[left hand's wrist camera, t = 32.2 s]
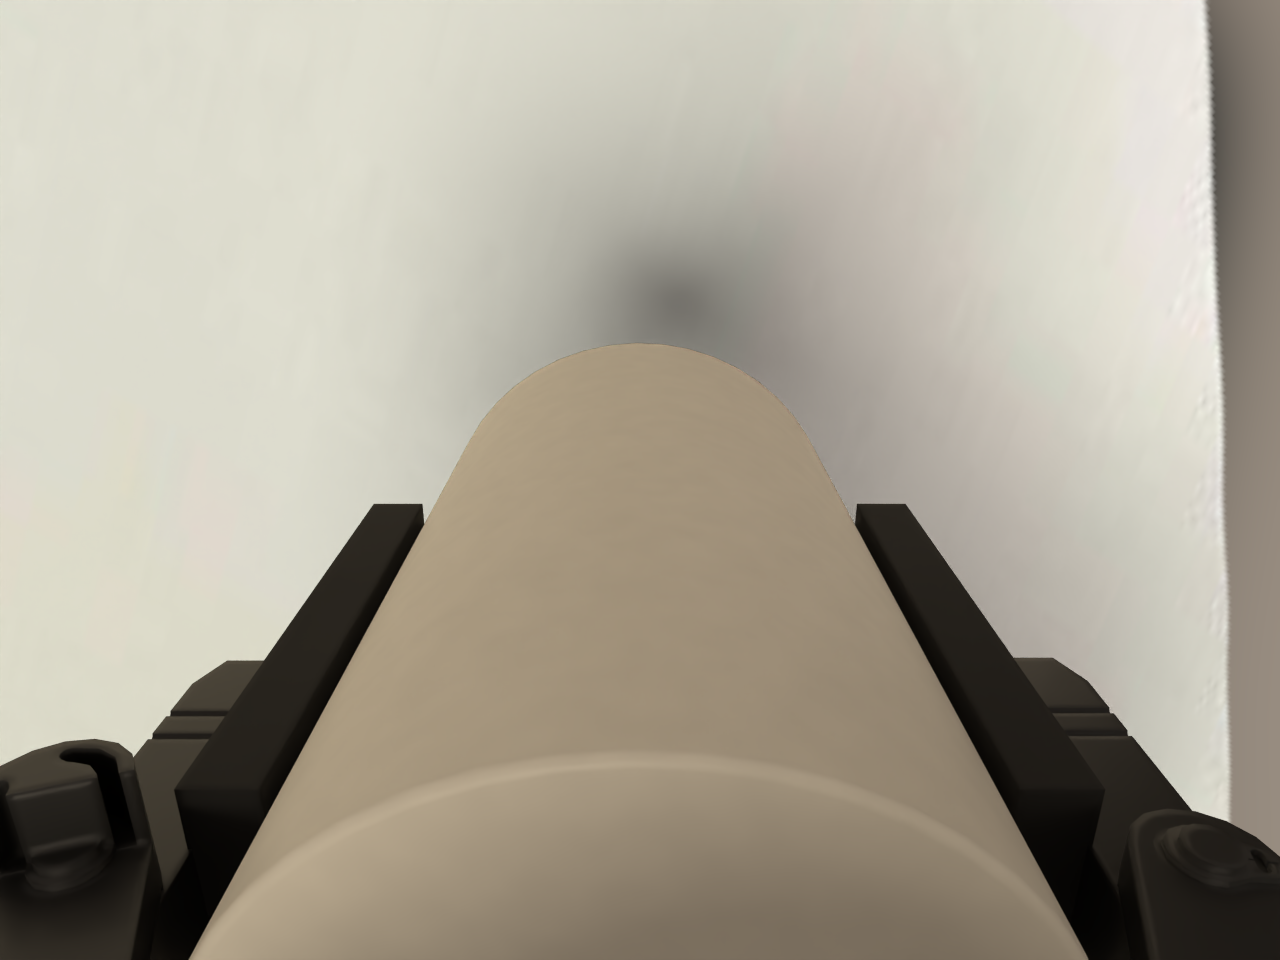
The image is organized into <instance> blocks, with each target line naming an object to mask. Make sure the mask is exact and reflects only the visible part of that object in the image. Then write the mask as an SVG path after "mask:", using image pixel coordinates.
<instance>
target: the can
mask: <svg viewBox="0 0 1280 960" xmlns="http://www.w3.org/2000/svg"><path fill="white" fill-rule="evenodd" d="M189 960H1088V957H1087V955H1086V953H1085V952H1084V950H1083V948H1082V946H1081V944H1080V942H1079V940H1078V939H1077V937H1076V935H1075V933H1074V931H1073V929H1072V927H1071V926H1070V924H1069V922H1068V920H1067V918H1066V916H1065V914H1064V913H1063V911H1062V909H1061V907H1060V905H1059V903H1058V901H1057V900H1056V898H1055V896H1054V894H1053V892H1052V890H1051V888H1050V887H1049V885H1048V883H1047V881H1046V879H1045V877H1044V875H1043V874H1042V872H1041V870H1040V868H1039V866H1038V864H1037V862H1036V861H1035V859H1034V857H1033V855H1032V853H1031V851H1030V849H1029V848H1028V846H1027V844H1026V842H1025V840H1024V838H1023V836H1022V835H1021V833H1020V831H1019V829H1018V827H1017V825H1016V823H1015V821H1014V820H1013V818H1012V816H1011V814H1010V812H1009V810H1008V808H1007V807H1006V805H1005V803H1004V801H1003V799H1002V797H1001V795H1000V794H999V792H998V790H997V788H996V786H995V784H994V782H993V781H992V779H991V777H990V775H989V773H988V771H987V769H986V768H985V766H984V764H983V762H982V760H981V758H980V756H979V755H978V753H977V751H976V749H975V747H974V745H973V743H972V742H971V740H970V738H969V736H968V734H967V732H966V730H965V729H964V727H963V725H962V723H961V721H960V719H959V717H958V716H957V714H956V712H955V710H954V708H953V706H952V704H951V703H950V701H949V699H948V697H947V695H946V693H945V691H944V690H943V688H942V686H941V684H940V682H939V680H938V678H937V677H936V675H935V673H934V671H933V669H932V667H931V665H930V664H929V662H928V660H927V658H926V656H925V654H924V652H923V651H922V649H921V647H920V645H919V643H918V641H917V639H916V638H915V636H914V634H913V632H912V630H911V628H910V626H909V625H908V623H907V621H906V619H905V617H904V615H903V613H902V612H901V610H900V608H899V606H898V604H897V602H896V600H895V599H894V597H893V595H892V593H891V591H890V589H889V587H888V586H887V584H886V582H885V580H884V578H883V576H882V574H881V573H880V571H879V569H878V567H877V565H876V563H875V561H874V560H873V558H872V556H871V554H870V552H869V550H868V548H867V546H866V545H865V543H864V541H863V539H862V537H861V535H860V533H859V532H858V530H857V528H856V526H855V524H854V522H853V520H852V519H851V517H850V515H849V513H848V511H847V509H846V507H845V506H844V504H843V502H842V500H841V498H840V496H839V494H838V493H837V491H836V489H835V487H834V485H833V483H832V481H831V480H830V478H829V476H828V474H827V472H826V470H825V468H824V467H823V465H822V463H821V461H820V459H819V457H818V455H817V454H816V452H815V450H814V448H813V446H812V444H811V442H810V441H809V439H808V437H807V435H806V434H805V432H804V431H803V429H802V428H801V426H800V425H799V423H798V422H797V420H796V419H795V417H794V416H793V415H792V414H791V412H790V411H789V410H788V409H787V408H786V407H785V406H784V405H783V403H782V402H781V401H780V400H779V399H778V398H777V397H776V396H775V395H774V394H772V393H771V392H770V391H769V390H768V389H767V388H765V387H764V386H763V385H762V384H761V383H760V382H758V381H757V380H755V379H754V378H752V377H751V376H749V375H747V374H746V373H744V372H743V371H741V370H740V369H738V368H736V367H734V366H732V365H730V364H728V363H726V362H723V361H721V360H719V359H717V358H715V357H712V356H709V355H706V354H703V353H700V352H697V351H693V350H690V349H686V348H680V347H675V346H669V345H664V344H645V343H631V344H619V345H608V346H604V347H599V348H594V349H590V350H585V351H582V352H579V353H576V354H573V355H570V356H568V357H565V358H562V359H559V360H557V361H555V362H553V363H551V364H549V365H547V366H545V367H544V368H542V369H540V370H538V371H536V372H534V373H533V374H531V375H530V376H529V377H527V378H526V379H524V380H523V381H521V382H520V383H519V384H517V385H516V386H514V387H513V388H512V389H511V390H510V391H509V392H508V393H507V394H506V395H505V396H504V397H503V398H501V399H500V400H499V401H498V402H497V403H496V404H495V406H494V407H493V408H492V409H491V410H490V412H489V413H488V414H487V415H486V417H485V418H484V419H483V420H482V421H481V423H480V425H479V426H478V428H477V430H476V431H475V433H474V434H473V436H472V438H471V439H470V441H469V443H468V445H467V446H466V448H465V450H464V452H463V454H462V456H461V458H460V459H459V461H458V463H457V465H456V467H455V469H454V470H453V472H452V474H451V476H450V478H449V480H448V482H447V483H446V485H445V487H444V489H443V491H442V493H441V494H440V496H439V498H438V500H437V502H436V504H435V506H434V507H433V509H432V511H431V513H430V515H429V517H428V519H427V520H426V522H425V524H424V526H423V528H422V530H421V531H420V533H419V535H418V537H417V539H416V541H415V543H414V544H413V546H412V548H411V550H410V552H409V554H408V555H407V557H406V559H405V561H404V563H403V565H402V567H401V568H400V570H399V572H398V574H397V576H396V578H395V579H394V581H393V583H392V585H391V587H390V589H389V591H388V592H387V594H386V596H385V598H384V600H383V602H382V603H381V605H380V607H379V609H378V611H377V613H376V615H375V616H374V618H373V620H372V622H371V624H370V626H369V628H368V629H367V631H366V633H365V635H364V637H363V639H362V640H361V642H360V644H359V646H358V648H357V650H356V652H355V653H354V655H353V657H352V659H351V661H350V663H349V664H348V666H347V668H346V670H345V672H344V674H343V676H342V677H341V679H340V681H339V683H338V685H337V687H336V688H335V690H334V692H333V694H332V696H331V698H330V700H329V701H328V703H327V705H326V707H325V709H324V711H323V712H322V714H321V716H320V718H319V720H318V722H317V724H316V725H315V727H314V729H313V731H312V733H311V735H310V737H309V738H308V740H307V742H306V744H305V746H304V748H303V749H302V751H301V753H300V755H299V757H298V759H297V761H296V762H295V764H294V766H293V768H292V770H291V772H290V773H289V775H288V777H287V779H286V781H285V783H284V785H283V786H282V788H281V790H280V792H279V794H278V796H277V797H276V799H275V801H274V803H273V805H272V807H271V809H270V810H269V812H268V814H267V816H266V818H265V820H264V822H263V823H262V825H261V827H260V829H259V831H258V833H257V834H256V836H255V838H254V840H253V842H252V844H251V846H250V847H249V849H248V851H247V853H246V855H245V857H244V858H243V860H242V862H241V864H240V866H239V868H238V870H237V871H236V873H235V875H234V877H233V879H232V881H231V882H230V884H229V886H228V888H227V890H226V892H225V894H224V895H223V897H222V899H221V901H220V903H219V905H218V906H217V908H216V910H215V912H214V914H213V916H212V918H211V919H210V921H209V923H208V925H207V927H206V929H205V931H204V932H203V934H202V936H201V938H200V940H199V942H198V943H197V945H196V947H195V949H194V951H193V953H192V955H191V956H190V958H189Z"/></svg>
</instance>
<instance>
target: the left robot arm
mask: <svg viewBox="0 0 1280 960" xmlns="http://www.w3.org/2000/svg"><path fill="white" fill-rule="evenodd" d="M423 526H424V516H423V506H422V504H374V505H373V506H372V507H371V509H370V510H369V512H368V513H367V515H366V516H365V517H364V519H363V520H362V522H361V523H360V525H359V526H358V527H357V529H356V530H355V532H354V533H353V534H352V536H351V537H350V539H349V540H348V542H347V543H346V544H345V546H344V547H343V549H342V550H341V552H340V553H339V554H338V556H337V557H336V559H335V560H334V562H333V563H332V564H331V566H330V567H329V569H328V570H327V572H326V573H325V574H324V576H323V577H322V579H321V580H320V582H319V583H318V584H317V586H316V587H315V589H314V590H313V592H312V593H311V594H310V596H309V597H308V599H307V600H306V602H305V603H304V604H303V606H302V607H301V609H300V610H299V612H298V613H297V614H296V616H295V617H294V619H293V620H292V622H291V623H290V624H289V626H288V627H287V629H286V630H285V632H284V633H283V634H282V636H281V637H280V639H279V640H278V642H277V643H276V644H275V646H274V647H273V649H272V650H271V651H270V653H269V654H268V656H267V657H266V659H265V660H264V661H226V662H225V663H223V664H222V665H220V666H219V667H217V668H216V669H214V670H213V671H211V672H210V673H208V674H207V675H205V676H204V677H202V678H201V679H199V680H198V681H196V682H195V683H193V684H192V685H191V686H190V687H189V689H188V690H187V691H186V692H185V694H184V695H183V696H182V697H181V699H180V700H179V701H178V702H177V704H176V705H175V706H174V707H173V709H172V710H171V715H170V716H166V717H165V719H164V720H163V721H162V722H161V724H160V725H159V726H158V727H157V729H156V730H155V731H154V732H153V737H152V739H148V740H147V741H146V742H145V744H144V745H143V746H142V747H141V749H140V750H139V751H138V752H137V754H136V755H135V756H134V757H133V756H132V753H130V752H129V751H128V750H127V749H125V748H124V747H123V746H121V745H120V744H119V743H115V742H109V741H104V740H98V739H89V740H77V741H66V742H62V743H59V744H55V745H51V746H48V747H44V748H41V749H37V750H34V751H31V752H29V753H27V754H25V755H23V756H21V757H18V758H16V759H14V760H12V761H10V762H8V763H6V764H4V765H2V766H0V960H189V958H190V956H191V955H192V953H193V951H194V949H195V947H196V945H197V943H198V942H199V940H200V938H201V936H202V934H203V932H204V931H205V929H206V927H207V925H208V923H209V921H210V919H211V918H212V916H213V914H214V912H215V910H216V908H217V906H218V905H219V903H220V901H221V899H222V897H223V895H224V894H225V892H226V890H227V888H228V886H229V884H230V882H231V881H232V879H233V877H234V875H235V873H236V871H237V870H238V868H239V866H240V864H241V862H242V860H243V858H244V857H245V855H246V853H247V851H248V849H249V847H250V846H251V844H252V842H253V840H254V838H255V836H256V834H257V833H258V831H259V829H260V827H261V825H262V823H263V822H264V820H265V818H266V816H267V814H268V812H269V810H270V809H271V807H272V805H273V803H274V801H275V799H276V797H277V796H278V794H279V792H280V790H281V788H282V786H283V785H284V783H285V781H286V779H287V777H288V775H289V773H290V772H291V770H292V768H293V766H294V764H295V762H296V761H297V759H298V757H299V755H300V753H301V751H302V749H303V748H304V746H305V744H306V742H307V740H308V738H309V737H310V735H311V733H312V731H313V729H314V727H315V725H316V724H317V722H318V720H319V718H320V716H321V714H322V712H323V711H324V709H325V707H326V705H327V703H328V701H329V700H330V698H331V696H332V694H333V692H334V690H335V688H336V687H337V685H338V683H339V681H340V679H341V677H342V676H343V674H344V672H345V670H346V668H347V666H348V664H349V663H350V661H351V659H352V657H353V655H354V653H355V652H356V650H357V648H358V646H359V644H360V642H361V640H362V639H363V637H364V635H365V633H366V631H367V629H368V628H369V626H370V624H371V622H372V620H373V618H374V616H375V615H376V613H377V611H378V609H379V607H380V605H381V603H382V602H383V600H384V598H385V596H386V594H387V592H388V591H389V589H390V587H391V585H392V583H393V581H394V579H395V578H396V576H397V574H398V572H399V570H400V568H401V567H402V565H403V563H404V561H405V559H406V557H407V555H408V554H409V552H410V550H411V548H412V546H413V544H414V543H415V541H416V539H417V537H418V535H419V533H420V531H421V530H422V528H423ZM855 526H856V528H857V530H858V532H859V533H860V535H861V537H862V539H863V541H864V543H865V545H866V546H867V548H868V550H869V552H870V554H871V556H872V558H873V560H874V561H875V563H876V565H877V567H878V569H879V571H880V573H881V574H882V576H883V578H884V580H885V582H886V584H887V586H888V587H889V589H890V591H891V593H892V595H893V597H894V599H895V600H896V602H897V604H898V606H899V608H900V610H901V612H902V613H903V615H904V617H905V619H906V621H907V623H908V625H909V626H910V628H911V630H912V632H913V634H914V636H915V638H916V639H917V641H918V643H919V645H920V647H921V649H922V651H923V652H924V654H925V656H926V658H927V660H928V662H929V664H930V665H931V667H932V669H933V671H934V673H935V675H936V677H937V678H938V680H939V682H940V684H941V686H942V688H943V690H944V691H945V693H946V695H947V697H948V699H949V701H950V703H951V704H952V706H953V708H954V710H955V712H956V714H957V716H958V717H959V719H960V721H961V723H962V725H963V727H964V729H965V730H966V732H967V734H968V736H969V738H970V740H971V742H972V743H973V745H974V747H975V749H976V751H977V753H978V755H979V756H980V758H981V760H982V762H983V764H984V766H985V768H986V769H987V771H988V773H989V775H990V777H991V779H992V781H993V782H994V784H995V786H996V788H997V790H998V792H999V794H1000V795H1001V797H1002V799H1003V801H1004V803H1005V805H1006V807H1007V808H1008V810H1009V812H1010V814H1011V816H1012V818H1013V820H1014V821H1015V823H1016V825H1017V827H1018V829H1019V831H1020V833H1021V835H1022V836H1023V838H1024V840H1025V842H1026V844H1027V846H1028V848H1029V849H1030V851H1031V853H1032V855H1033V857H1034V859H1035V861H1036V862H1037V864H1038V866H1039V868H1040V870H1041V872H1042V874H1043V875H1044V877H1045V879H1046V881H1047V883H1048V885H1049V887H1050V888H1051V890H1052V892H1053V894H1054V896H1055V898H1056V900H1057V901H1058V903H1059V905H1060V907H1061V909H1062V911H1063V913H1064V914H1065V916H1066V918H1067V920H1068V922H1069V924H1070V926H1071V927H1072V929H1073V931H1074V933H1075V935H1076V937H1077V939H1078V940H1079V942H1080V944H1081V946H1082V948H1083V950H1084V952H1085V953H1086V955H1087V957H1088V960H1280V856H1278V855H1277V854H1276V853H1275V852H1273V851H1272V850H1271V849H1270V848H1269V847H1267V846H1266V845H1265V844H1264V843H1263V842H1261V841H1260V840H1259V839H1258V838H1257V837H1255V836H1253V835H1251V834H1249V833H1248V832H1246V831H1244V830H1242V829H1240V828H1238V827H1236V826H1234V825H1233V824H1231V823H1229V822H1227V821H1224V820H1221V819H1218V818H1215V817H1211V816H1208V815H1205V814H1202V813H1199V812H1196V811H1192V810H1191V809H1190V808H1189V806H1188V805H1187V804H1186V803H1185V801H1184V800H1183V799H1182V798H1181V796H1180V795H1179V794H1178V793H1177V791H1176V790H1175V789H1174V788H1173V786H1172V785H1171V784H1170V783H1169V781H1168V780H1167V779H1166V778H1165V776H1164V775H1163V774H1162V773H1161V772H1160V770H1159V769H1158V768H1157V767H1156V765H1155V764H1154V763H1153V762H1152V760H1151V759H1150V758H1149V757H1148V755H1147V754H1146V753H1145V752H1144V750H1143V749H1142V748H1141V747H1140V745H1139V744H1138V743H1137V742H1136V740H1135V739H1134V738H1133V737H1132V736H1128V734H1127V729H1126V728H1125V727H1124V726H1123V724H1122V723H1121V722H1120V721H1119V719H1118V718H1117V717H1116V716H1115V714H1114V713H1110V712H1109V707H1108V706H1107V704H1106V703H1105V702H1104V701H1103V699H1102V698H1101V697H1100V696H1099V695H1098V693H1097V692H1096V691H1095V690H1094V688H1093V687H1092V686H1091V685H1090V683H1089V682H1088V681H1087V680H1085V679H1084V678H1082V677H1081V676H1079V675H1078V674H1076V673H1075V672H1073V671H1072V670H1070V669H1069V668H1067V667H1066V666H1064V665H1063V664H1061V663H1060V662H1058V661H1057V660H1055V659H1054V658H1013V657H1012V655H1011V654H1010V652H1009V651H1008V650H1007V648H1006V647H1005V645H1004V644H1003V642H1002V641H1001V640H1000V638H999V637H998V635H997V634H996V632H995V631H994V630H993V628H992V627H991V625H990V624H989V622H988V621H987V620H986V618H985V617H984V615H983V614H982V612H981V611H980V610H979V608H978V607H977V605H976V604H975V602H974V601H973V600H972V598H971V597H970V595H969V594H968V592H967V591H966V590H965V588H964V587H963V585H962V584H961V582H960V581H959V580H958V578H957V577H956V575H955V574H954V572H953V571H952V570H951V568H950V567H949V565H948V564H947V562H946V561H945V560H944V558H943V557H942V555H941V554H940V552H939V551H938V550H937V548H936V547H935V545H934V544H933V543H932V541H931V540H930V538H929V537H928V535H927V534H926V533H925V531H924V530H923V528H922V527H921V525H920V524H919V523H918V521H917V520H916V518H915V517H914V515H913V514H912V513H911V511H910V510H909V508H908V507H907V505H906V504H857V510H856V520H855Z"/></svg>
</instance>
